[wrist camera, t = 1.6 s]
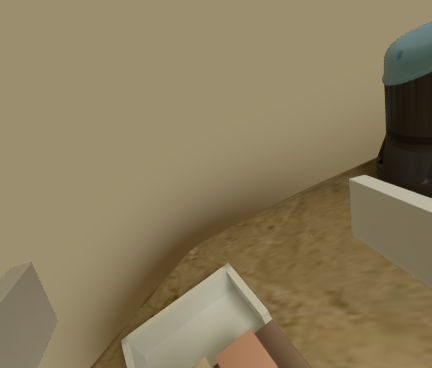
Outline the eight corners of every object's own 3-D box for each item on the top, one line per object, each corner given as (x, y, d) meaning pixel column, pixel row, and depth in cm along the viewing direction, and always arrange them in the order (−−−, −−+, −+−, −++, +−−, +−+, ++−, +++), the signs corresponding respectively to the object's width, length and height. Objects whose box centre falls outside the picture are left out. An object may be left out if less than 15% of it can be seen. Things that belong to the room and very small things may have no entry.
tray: (238, 282, 46) (228, 262, 44) (277, 331, 38) (267, 310, 35) (138, 356, 42) (120, 340, 40) (158, 428, 34) (137, 414, 31)
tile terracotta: (257, 341, 35) (250, 328, 33) (284, 378, 31) (277, 366, 29) (223, 368, 34) (214, 356, 32) (246, 411, 30) (237, 400, 28)
